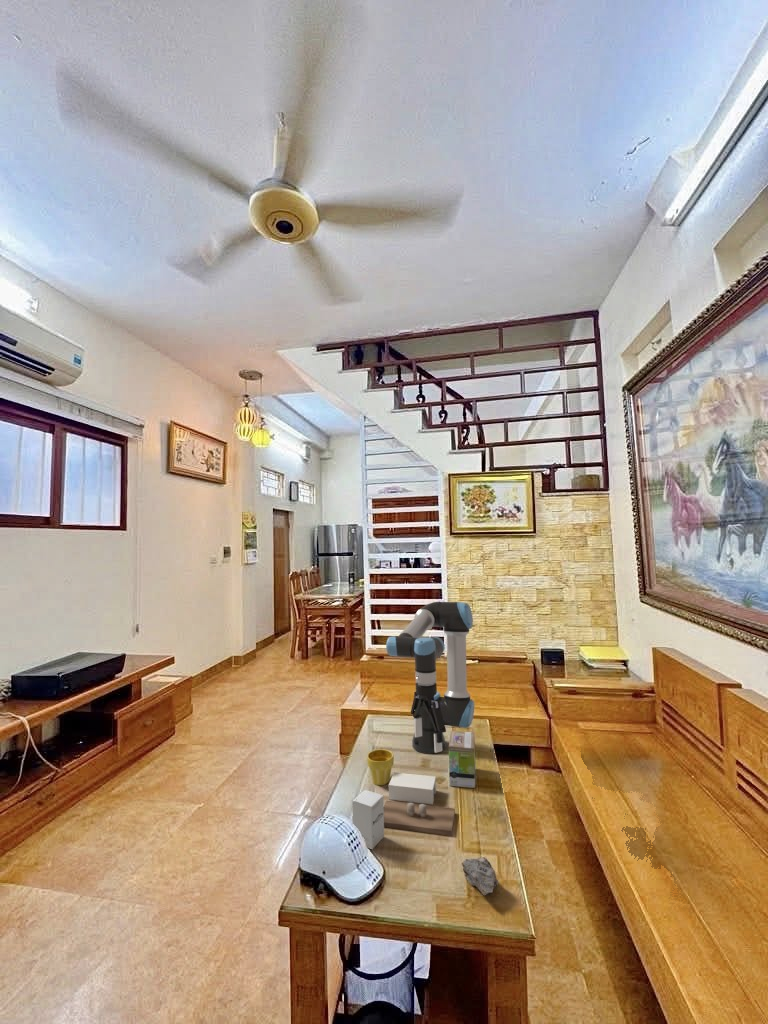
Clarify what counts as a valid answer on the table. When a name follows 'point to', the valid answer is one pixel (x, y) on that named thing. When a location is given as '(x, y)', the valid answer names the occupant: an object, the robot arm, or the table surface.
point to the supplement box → (369, 816)
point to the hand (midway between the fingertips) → (428, 743)
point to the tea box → (462, 759)
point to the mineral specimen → (480, 874)
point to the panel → (412, 788)
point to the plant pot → (380, 765)
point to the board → (419, 817)
